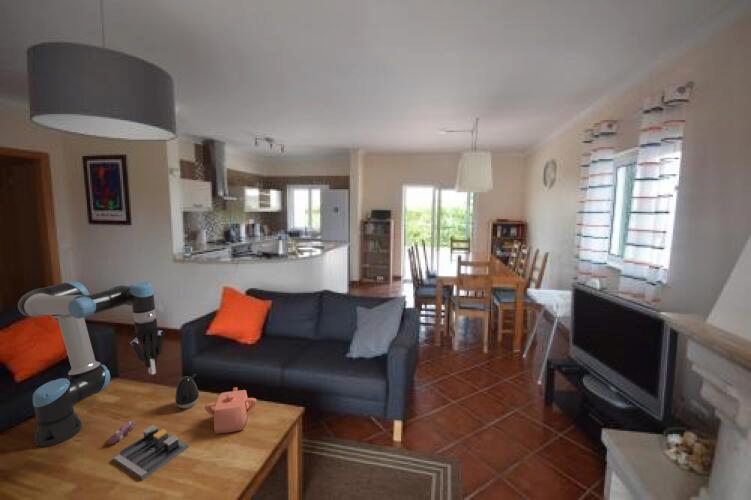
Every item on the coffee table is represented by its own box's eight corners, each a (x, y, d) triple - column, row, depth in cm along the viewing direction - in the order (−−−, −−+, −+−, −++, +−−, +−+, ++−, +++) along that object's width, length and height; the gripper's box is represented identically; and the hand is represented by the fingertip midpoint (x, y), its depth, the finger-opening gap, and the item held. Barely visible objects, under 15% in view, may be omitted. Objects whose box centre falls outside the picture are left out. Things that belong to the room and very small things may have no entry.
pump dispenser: (204, 402, 169) (201, 375, 166) (183, 414, 160) (180, 385, 158) (192, 396, 174) (190, 369, 172) (172, 407, 166) (168, 378, 163)
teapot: (255, 430, 150) (253, 401, 147) (202, 437, 145) (199, 408, 143) (260, 403, 169) (259, 377, 166) (213, 409, 164) (211, 383, 162)
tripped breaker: (154, 445, 138) (153, 435, 137) (164, 439, 142) (162, 429, 141) (158, 447, 137) (157, 437, 136) (168, 441, 140) (167, 431, 139)
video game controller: (114, 449, 141) (118, 436, 139) (105, 443, 141) (110, 431, 140) (135, 432, 150) (139, 421, 149) (126, 427, 151) (131, 415, 149)
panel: (113, 460, 133) (111, 446, 132) (159, 432, 148) (158, 419, 147) (142, 480, 124) (140, 465, 123) (188, 447, 139) (187, 434, 138)
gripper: (133, 327, 130) (140, 383, 134) (166, 316, 142) (173, 368, 146) (122, 324, 134) (130, 378, 138) (156, 313, 145) (162, 364, 149)
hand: (152, 373), depth 142 cm, fingers closed
